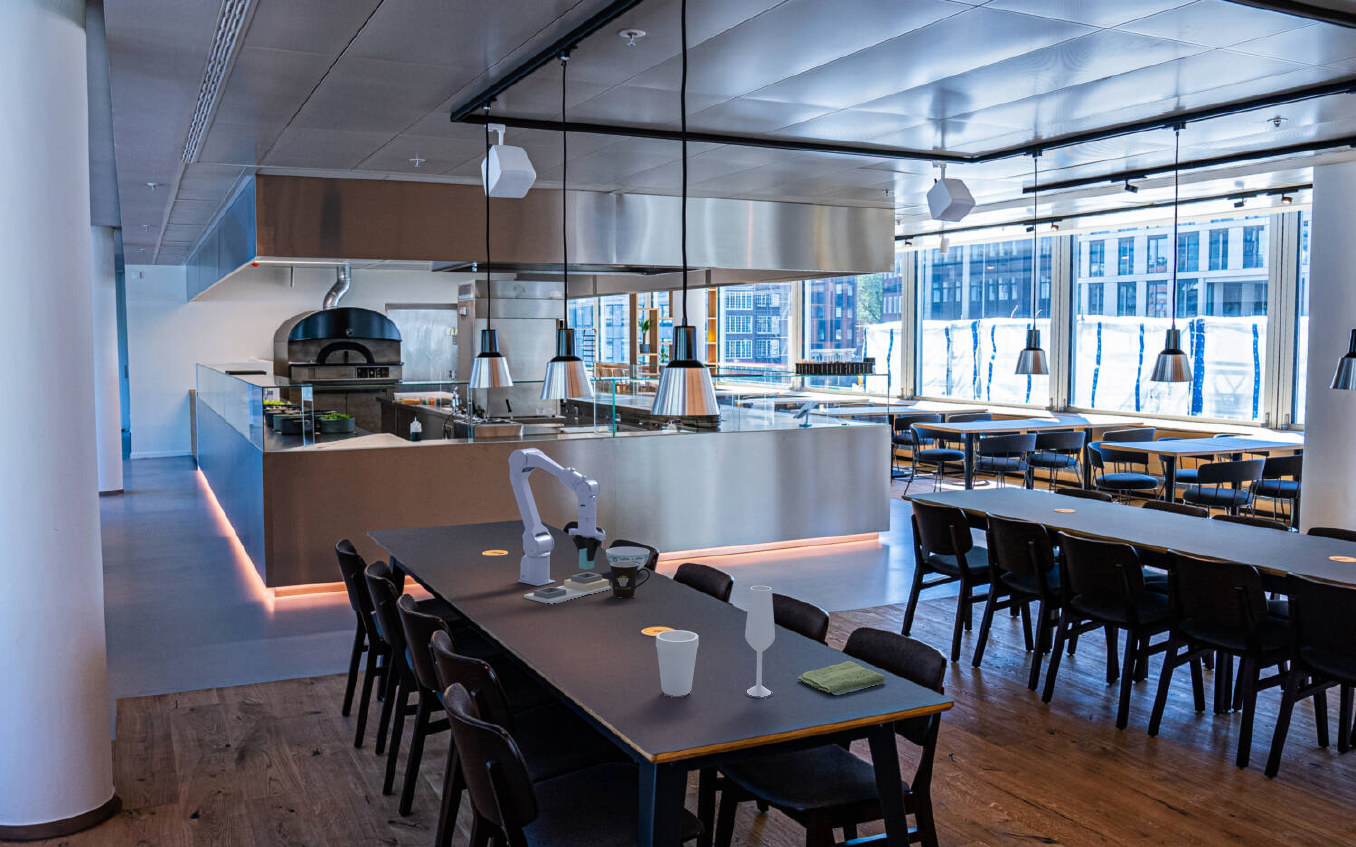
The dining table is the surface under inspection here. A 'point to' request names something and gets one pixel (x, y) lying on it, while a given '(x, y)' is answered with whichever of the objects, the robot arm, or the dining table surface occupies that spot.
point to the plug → (585, 560)
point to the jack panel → (571, 588)
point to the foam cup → (676, 660)
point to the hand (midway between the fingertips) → (586, 560)
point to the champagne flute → (760, 630)
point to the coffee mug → (625, 578)
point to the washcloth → (841, 677)
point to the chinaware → (628, 555)
